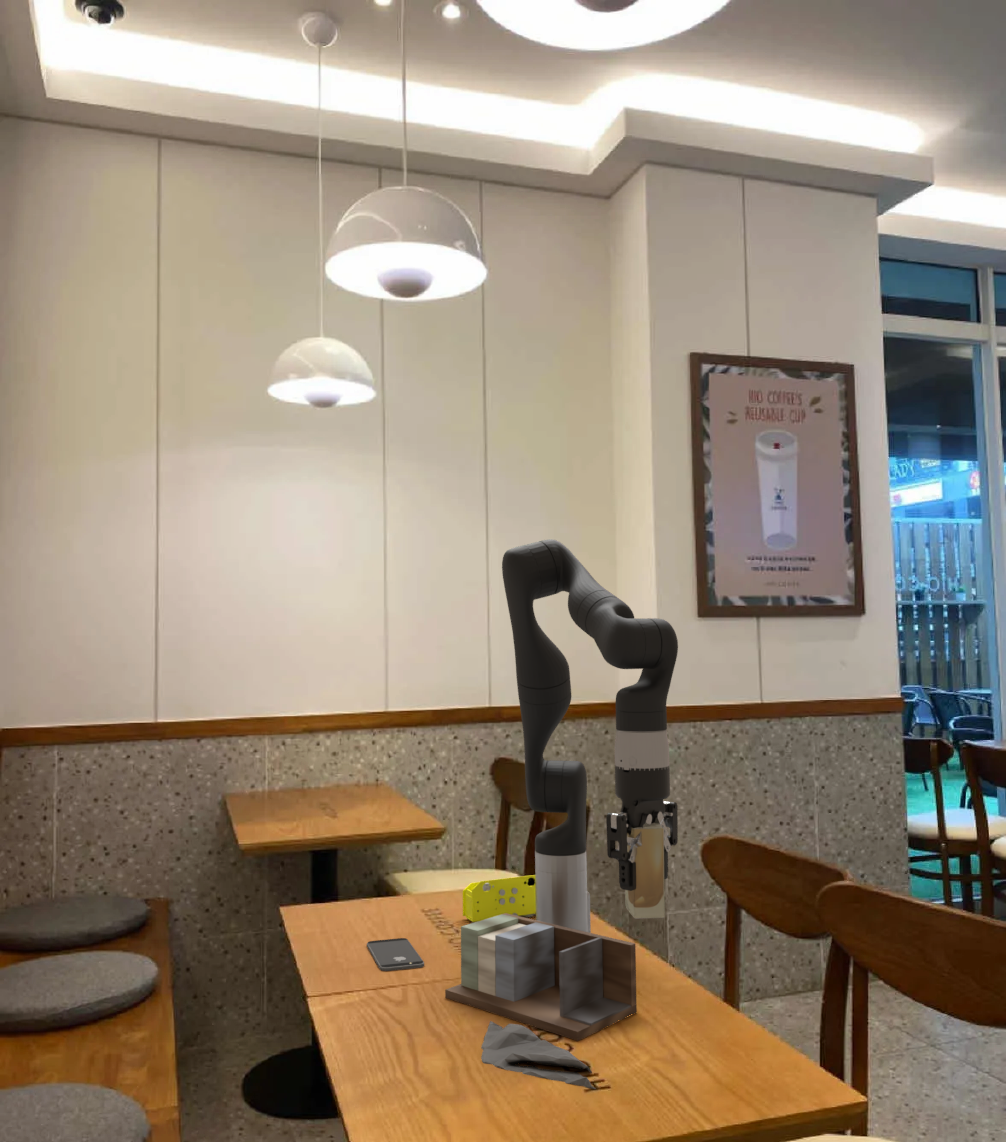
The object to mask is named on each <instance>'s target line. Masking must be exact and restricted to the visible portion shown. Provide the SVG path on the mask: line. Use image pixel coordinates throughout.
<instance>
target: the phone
mask: <svg viewBox="0 0 1006 1142" xmlns="http://www.w3.org/2000/svg"><path fill="white" fill-rule="evenodd" d="M367 947H368V948H367ZM366 948H367V949H368V951H369V953H370V955H371V957H372V958H373V960H374V962H375V963H376V966H377V967H378V968H379V970H380V971H382V972H391V971H402V970H412V969H420V968H423V967H424V966H425V961H424V960H423V959H422V957H421V955H419V952H417V950H416V949H415V948H414V946H413V945H412V943H411V942H410V941H409V940H408V939H407V938H404V937H400V938H399V937H398V938H390V939H389V938H387V939H380V940H379V939H377V940H370V941H368V942H367V943H366Z"/></svg>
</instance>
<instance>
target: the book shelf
mask: <svg viewBox="0 0 1006 1142" xmlns="http://www.w3.org/2000/svg"><path fill="white" fill-rule="evenodd" d="M460 956H461V957H460V964H461V965H460V966H461V967H460V968H461V969H460V978H461V979H460V981H461V983H460V984H457V985H455V986H452V987H449V988H446V989H445V990H444V991H445V992H444V997H445V998H446V999H448V1000H452V1001H454V1002H458V1003H460V1004H463V1005H466V1006H470V1007H473V1008H476V1009H478V1010H479V1009H480V1010H482V1011H486V1012H488V1013H490V1014H493V1015H494V1014H495V1015H497V1016H500V1017H503V1018H507V1019H509V1020H513V1021H516V1022H519V1023H523V1024H525V1025H528V1026H531V1027H534V1028H536V1029H540V1030H544V1031H546V1032H550V1033H551V1034H552V1033H553V1034H556V1035H559V1036H562V1037H565V1038H568V1039H570V1040H573V1041H576V1042H579V1041H581V1040H582V1039H585V1038H586V1037H589V1036H591V1035H593V1034H595V1033H597V1032H599V1031H601V1029H602V1030H604V1029H606V1028H608V1027H610V1026H612V1025H614V1024H616V1023H618V1022H619V1021H618V1020H621V1021H623V1020H625V1019H626V1018H625V1017H627V1016H629V1015H631V1014H633V1015H635V1014H637V1013H636V1012H638V1011H637V1008H638V1007H637V966H636V965H637V962H636V957H637V956H636V943H635V942H631V941H627V940H623V939H617V938H613V937H609V936H605V935H601V934H595V933H592V932H591V933H589V932H584V931H580V930H576V929H571V928H567V927H563V926H559V925H554V924H550V923H546V922H541V921H537V920H536V919H532V918H530V917H523V916H516V915H511V914H507V913H504V914H501V915H498V916H494V917H491V918H488V919H484V920H481V921H478V922H471V923H468V924H465V925H462V926H460ZM634 1013H635V1014H634ZM631 1016H632V1015H631ZM629 1017H630V1016H629ZM624 1018H625V1019H624ZM627 1018H628V1017H627ZM622 1019H623V1020H622ZM617 1021H618V1022H617ZM615 1022H616V1023H615ZM613 1023H614V1024H613ZM607 1026H608V1027H607ZM605 1027H606V1028H605ZM603 1028H604V1029H603Z"/></svg>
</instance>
